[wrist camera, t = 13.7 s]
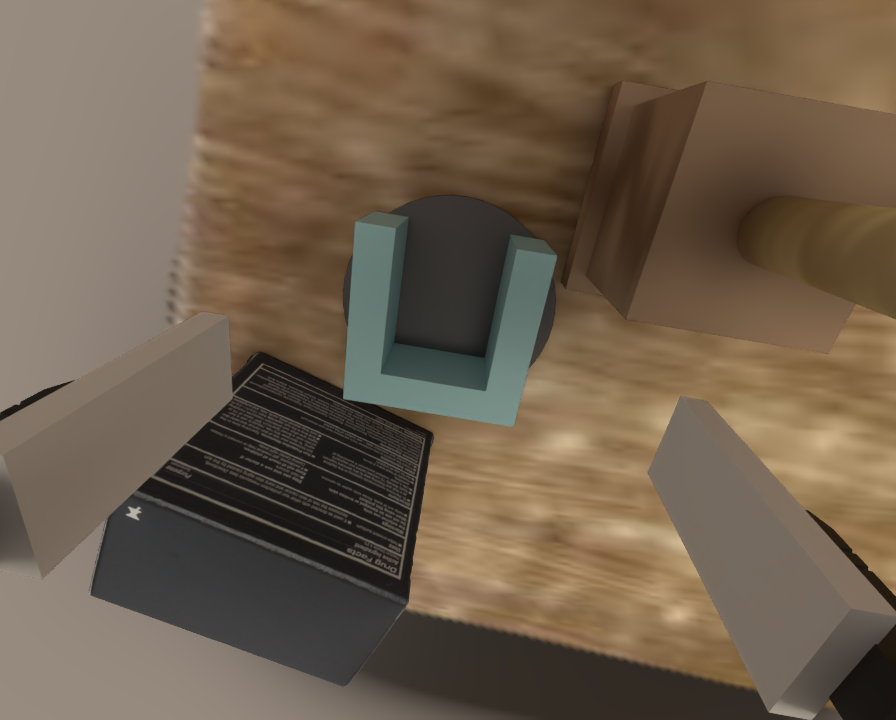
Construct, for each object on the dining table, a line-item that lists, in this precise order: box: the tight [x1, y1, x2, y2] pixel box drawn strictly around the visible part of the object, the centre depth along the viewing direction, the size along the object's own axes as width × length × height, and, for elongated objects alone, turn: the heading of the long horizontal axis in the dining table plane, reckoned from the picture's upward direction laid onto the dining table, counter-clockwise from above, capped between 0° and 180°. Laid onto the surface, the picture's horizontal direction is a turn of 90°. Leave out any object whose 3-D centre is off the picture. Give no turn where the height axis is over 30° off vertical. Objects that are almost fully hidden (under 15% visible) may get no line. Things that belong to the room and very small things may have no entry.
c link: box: [343, 211, 557, 427], centre depth 20 cm, size 8×8×4 cm
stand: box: [561, 81, 896, 354], centre depth 14 cm, size 8×8×12 cm
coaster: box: [343, 195, 556, 369], centre depth 22 cm, size 10×10×1 cm
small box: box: [89, 352, 434, 686], centre depth 21 cm, size 11×6×10 cm, turn 63°
